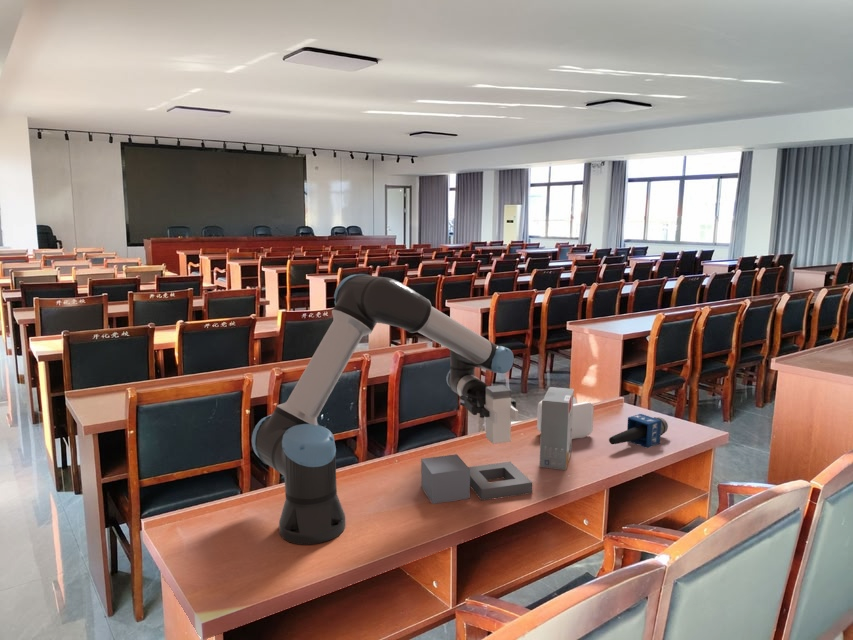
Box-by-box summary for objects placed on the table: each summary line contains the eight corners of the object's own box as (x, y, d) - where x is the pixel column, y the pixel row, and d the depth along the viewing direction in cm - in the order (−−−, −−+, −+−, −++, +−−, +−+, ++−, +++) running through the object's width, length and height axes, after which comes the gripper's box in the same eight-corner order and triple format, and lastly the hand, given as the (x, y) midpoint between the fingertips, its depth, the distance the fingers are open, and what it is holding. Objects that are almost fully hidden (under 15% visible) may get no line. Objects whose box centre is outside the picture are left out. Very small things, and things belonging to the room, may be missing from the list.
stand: (432, 504, 153) (432, 474, 152) (421, 487, 163) (421, 458, 161) (469, 498, 156) (469, 468, 155) (456, 482, 166) (456, 454, 164)
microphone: (602, 424, 187) (653, 409, 200) (601, 448, 188) (652, 432, 202) (623, 432, 180) (674, 416, 194) (621, 456, 182) (673, 439, 195)
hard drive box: (566, 471, 172) (568, 403, 168) (539, 468, 174) (540, 400, 171) (571, 451, 186) (574, 388, 183) (546, 448, 189) (548, 385, 185)
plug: (492, 443, 158) (493, 392, 156) (485, 437, 163) (485, 386, 161) (510, 441, 160) (511, 390, 157) (503, 434, 165) (503, 384, 162)
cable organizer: (555, 444, 192) (556, 409, 190) (535, 433, 201) (536, 399, 199) (593, 436, 198) (594, 402, 196) (572, 426, 208) (573, 393, 206)
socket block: (481, 500, 155) (481, 489, 154) (463, 477, 168) (463, 467, 168) (532, 493, 159) (532, 482, 158) (510, 471, 172) (510, 461, 172)
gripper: (502, 400, 180) (538, 427, 158) (444, 407, 175) (473, 435, 153) (502, 375, 179) (539, 399, 157) (444, 381, 174) (473, 406, 152)
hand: (506, 417), depth 155 cm, fingers closed on plug, 5 cm apart
